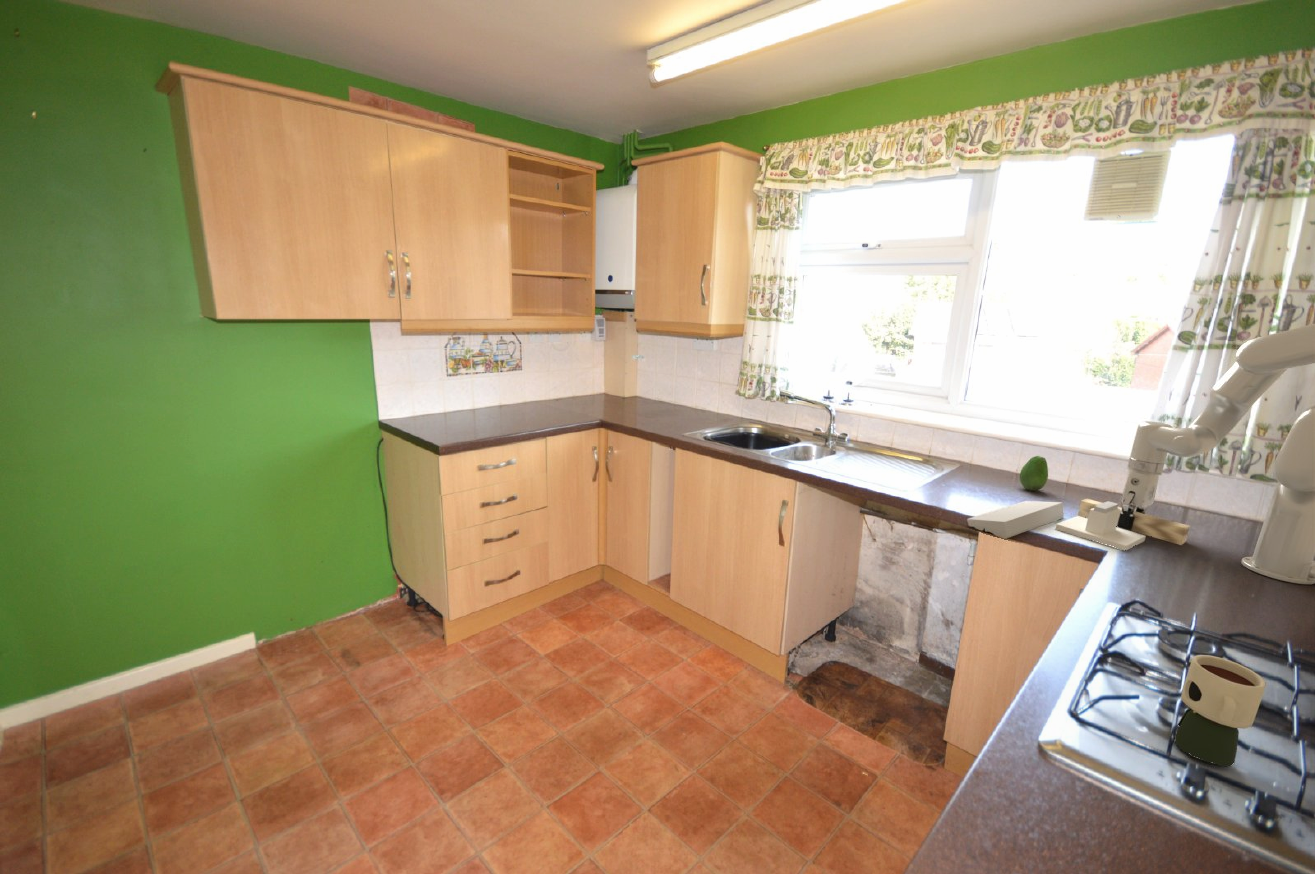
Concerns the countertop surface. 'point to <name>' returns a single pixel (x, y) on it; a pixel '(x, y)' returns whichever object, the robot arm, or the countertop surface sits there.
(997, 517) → the white flat block
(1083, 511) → the beech batten
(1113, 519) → the balance stand
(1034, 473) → the fruit
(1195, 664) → the character mug
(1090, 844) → the countertop surface
